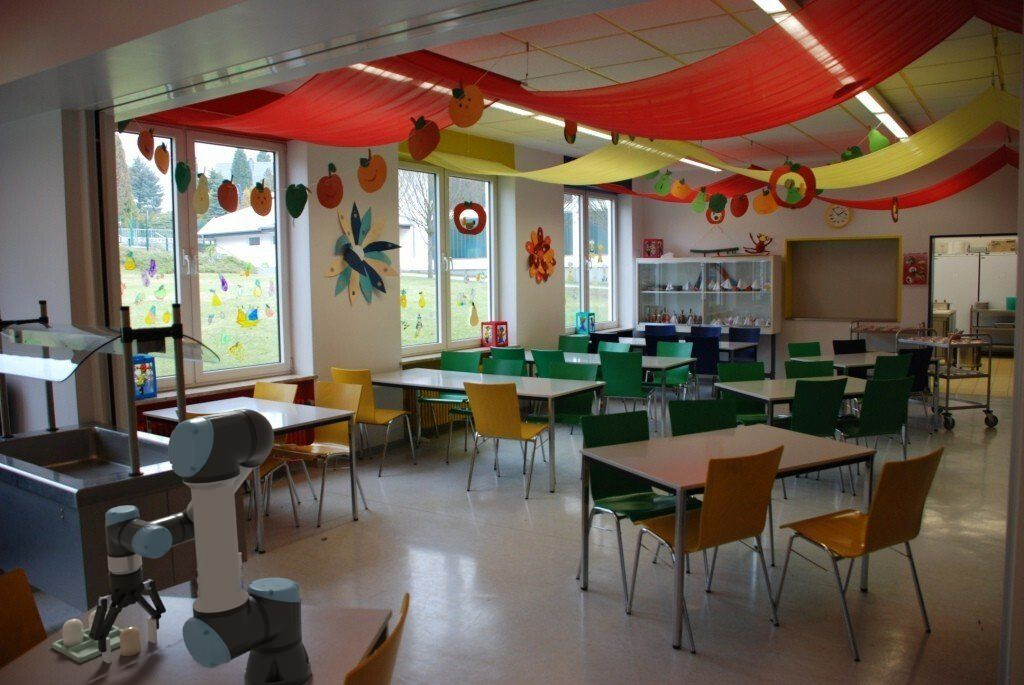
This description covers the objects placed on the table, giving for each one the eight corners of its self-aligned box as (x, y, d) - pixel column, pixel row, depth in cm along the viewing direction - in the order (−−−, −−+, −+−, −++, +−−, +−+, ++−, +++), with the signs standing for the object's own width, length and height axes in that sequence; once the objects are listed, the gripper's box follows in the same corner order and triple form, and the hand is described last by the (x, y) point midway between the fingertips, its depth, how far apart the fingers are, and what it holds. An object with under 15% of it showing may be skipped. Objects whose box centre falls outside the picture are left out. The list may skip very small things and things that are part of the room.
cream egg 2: (113, 633, 205) (111, 608, 204) (95, 640, 201) (93, 615, 200) (103, 629, 207) (102, 604, 206) (86, 636, 203) (84, 610, 203)
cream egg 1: (87, 644, 199) (86, 618, 198) (69, 651, 195) (67, 625, 195) (78, 639, 202) (76, 613, 201) (60, 646, 198) (58, 620, 197)
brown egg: (145, 652, 196) (143, 626, 195) (127, 660, 192) (125, 633, 191) (134, 647, 198) (133, 621, 198) (117, 655, 195) (115, 628, 194)
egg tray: (135, 641, 201) (134, 635, 201) (80, 665, 190) (79, 658, 190) (106, 627, 209) (105, 621, 209) (51, 649, 198) (51, 642, 197)
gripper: (161, 550, 205) (165, 630, 207) (68, 581, 185) (74, 668, 188) (177, 556, 201) (182, 637, 203) (85, 589, 181) (91, 678, 183)
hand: (130, 652), depth 195 cm, fingers open, 11 cm apart
